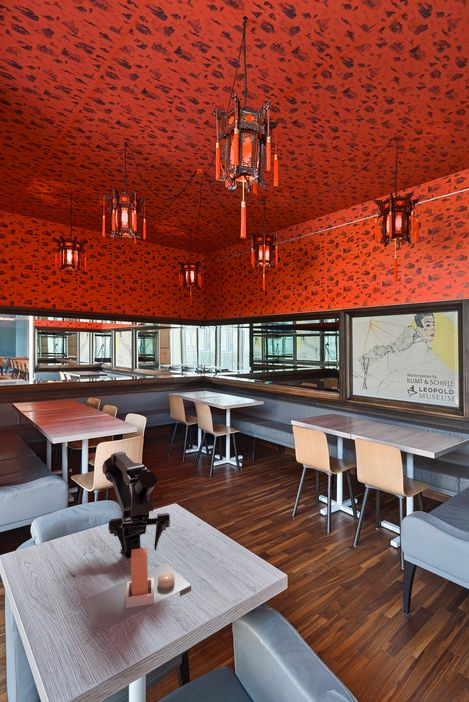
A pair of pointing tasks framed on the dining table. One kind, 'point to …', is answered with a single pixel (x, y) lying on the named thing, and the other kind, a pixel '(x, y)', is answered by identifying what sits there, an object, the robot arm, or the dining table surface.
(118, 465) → the robot arm
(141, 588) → the orange square prism
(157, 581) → the board
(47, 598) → the dining table surface
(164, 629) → the dining table surface
